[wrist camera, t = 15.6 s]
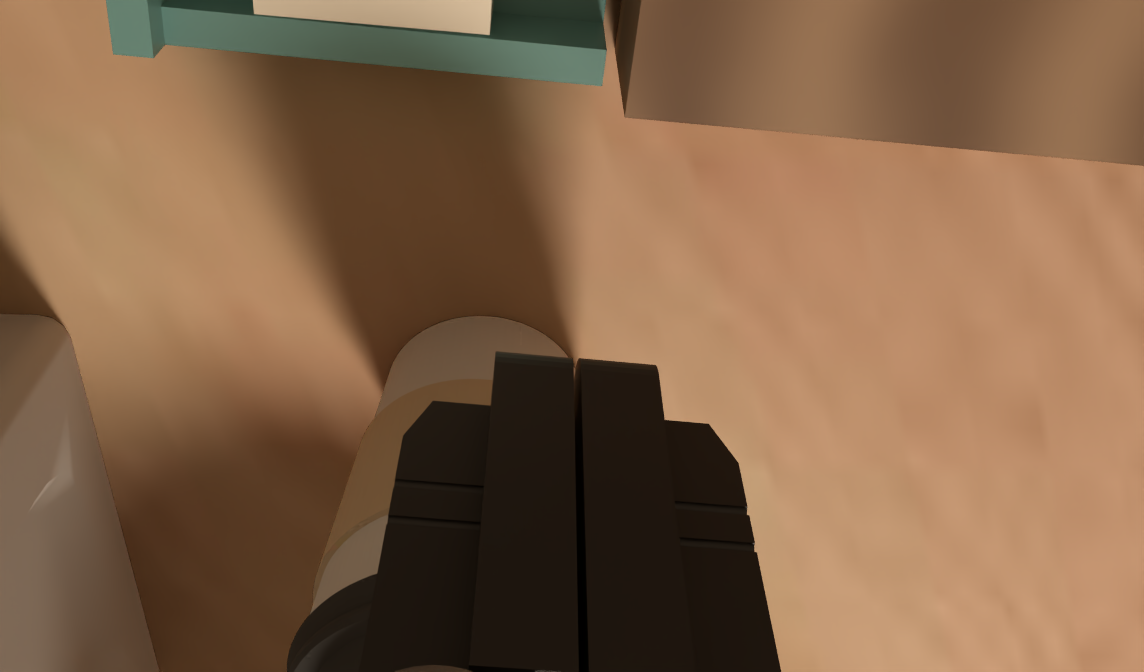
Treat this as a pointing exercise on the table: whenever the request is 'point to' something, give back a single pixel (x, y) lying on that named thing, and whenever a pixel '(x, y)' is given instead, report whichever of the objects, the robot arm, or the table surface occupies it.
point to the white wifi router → (59, 519)
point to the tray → (380, 37)
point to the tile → (389, 12)
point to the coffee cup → (351, 557)
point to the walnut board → (896, 71)
